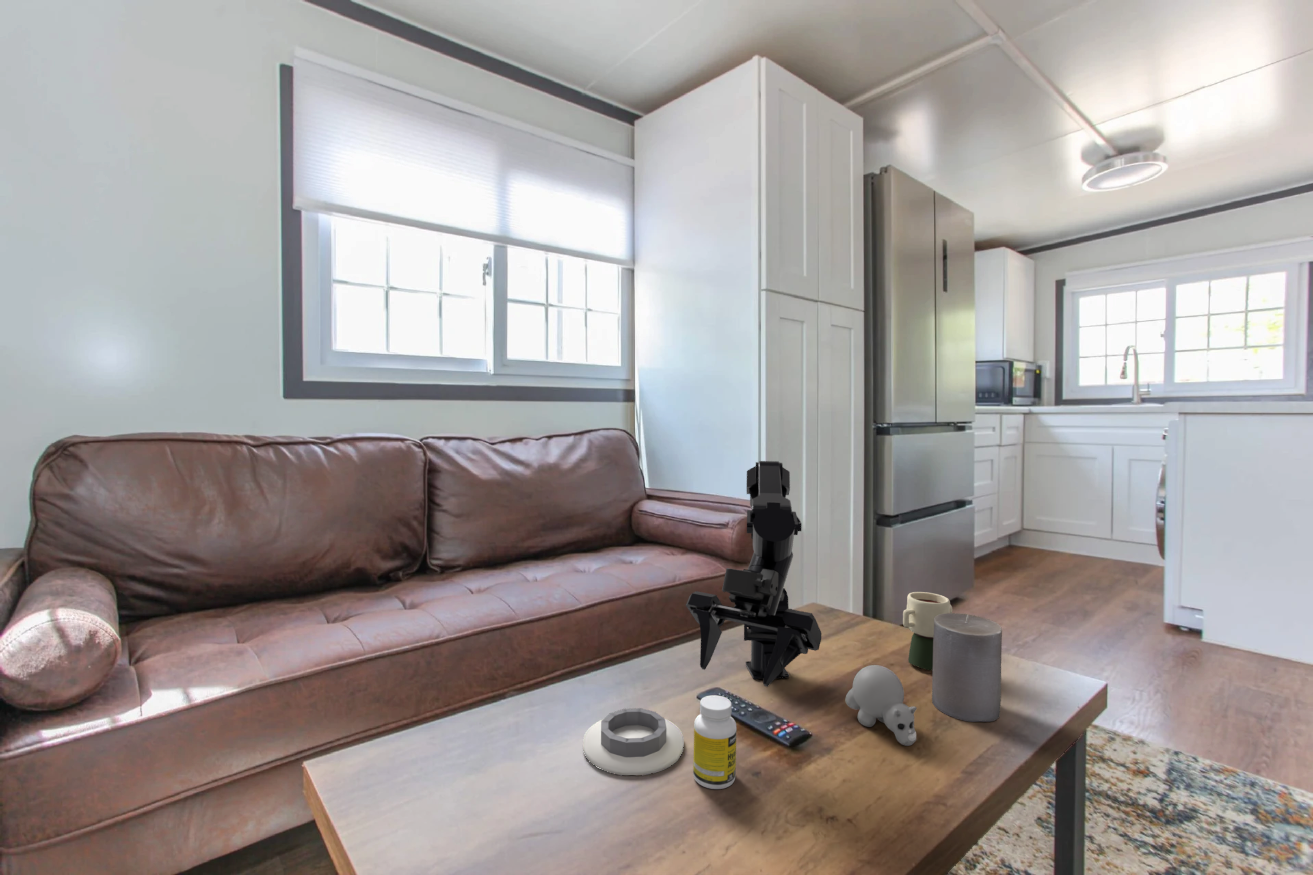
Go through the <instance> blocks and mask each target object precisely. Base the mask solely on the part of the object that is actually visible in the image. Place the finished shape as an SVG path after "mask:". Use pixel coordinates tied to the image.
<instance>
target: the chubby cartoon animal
mask: <svg viewBox="0 0 1313 875" xmlns="http://www.w3.org/2000/svg"><path fill="white" fill-rule="evenodd" d="M904 697H905V691H904V686H903V684H902V682H901V680H900V678H899V677H898V675H897V674H895V672H894V671H893V670H891V669H889V668H888V667H887V666H886V667H885V666H883V665H878V664H873V665H872V664H871V665H870V664H869V665H867V666H865V667H863V668H861V669H860V670H859V671H858V672H857V673H856V675H855V676H854V679H853V681H852V688H851V689H849V691H848V692H847V693H846V695H845V704H846V705H847V707H848V708H850V709H852V710H856V711H857V710H858V713H857V720H858V723H860V724H861V725H862V726H864V727H867V728H872V727H874V725H875V724H876V721H877V720H878V721H879V722H881V723H883V724H884V725H885V726H886V727H887V729H888V730H890V731H891V732H893V734H894V736H895V739H896V741H897V742H898V743H899V744H900V745H902V746H906V747H908V746H912V745H913V744H914V743H915V742H916V741H917V732H916V730H915V712H916V711H917V707H916V706H914V705H913V706H908V705H907V704H905V703H904V699H905V698H904Z"/></svg>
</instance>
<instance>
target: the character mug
mask: <svg viewBox="0 0 1313 875" xmlns="http://www.w3.org/2000/svg"><path fill="white" fill-rule="evenodd" d="M906 599H907V601H906V609H904V610H903V612H902V625H903V627H904V628H908V630H909V631H911V633H912V635H911V639H910V644H909V650H908V660H907V661H908V664H911V665H913V666H916V667H918V668H919V669H923V670H927V671H932V672H933V634H934V618H935V617H936V616H937V615H939V614H945V613H953V606H952V605H951V601H950V599H949V598H948V597H946V596H944V595H941V594H939V593H933V592H926V591H925V592H924V591H913V592H909V593H908V594H907V597H906Z"/></svg>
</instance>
